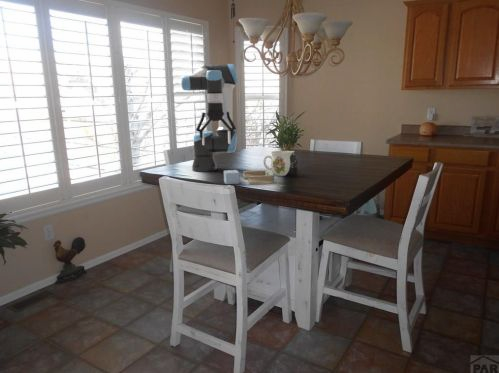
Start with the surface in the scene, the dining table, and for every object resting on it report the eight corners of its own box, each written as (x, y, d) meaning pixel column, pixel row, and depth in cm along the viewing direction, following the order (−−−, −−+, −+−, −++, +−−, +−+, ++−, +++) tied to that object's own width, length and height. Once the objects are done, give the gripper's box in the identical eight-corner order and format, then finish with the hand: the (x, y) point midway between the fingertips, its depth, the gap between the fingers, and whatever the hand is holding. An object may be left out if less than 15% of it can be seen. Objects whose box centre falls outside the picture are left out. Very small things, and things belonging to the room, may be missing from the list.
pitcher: (265, 172, 237) (265, 149, 234) (295, 173, 233) (295, 150, 229) (261, 176, 226) (261, 152, 223) (293, 177, 222) (293, 152, 219)
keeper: (224, 181, 214) (223, 170, 213) (236, 180, 216) (236, 169, 215) (226, 184, 208) (225, 173, 206) (239, 183, 209) (239, 172, 208)
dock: (243, 178, 221) (243, 171, 220) (266, 177, 224) (266, 170, 223) (249, 184, 206) (249, 176, 205) (274, 182, 209) (274, 175, 208)
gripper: (191, 103, 193) (193, 146, 198) (240, 101, 199) (241, 144, 204) (189, 102, 200) (191, 144, 205) (237, 101, 206) (238, 142, 211)
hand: (216, 144), depth 205 cm, fingers open, 13 cm apart
